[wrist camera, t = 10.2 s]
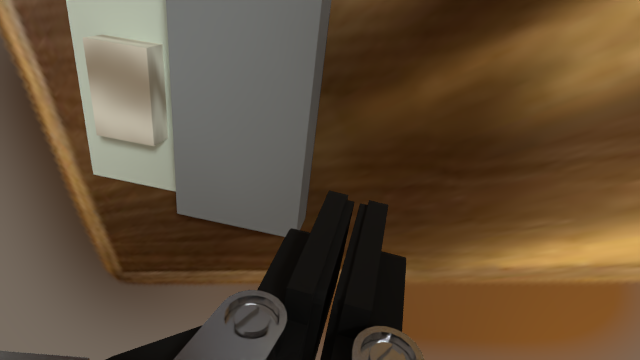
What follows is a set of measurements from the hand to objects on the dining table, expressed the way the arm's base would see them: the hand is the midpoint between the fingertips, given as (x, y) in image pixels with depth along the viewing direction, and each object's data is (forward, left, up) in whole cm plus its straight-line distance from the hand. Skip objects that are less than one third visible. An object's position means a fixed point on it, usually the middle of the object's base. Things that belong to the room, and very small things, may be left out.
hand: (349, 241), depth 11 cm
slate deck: (+4, -11, -25) cm, 28 cm away
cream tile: (+5, -23, -22) cm, 33 cm away
